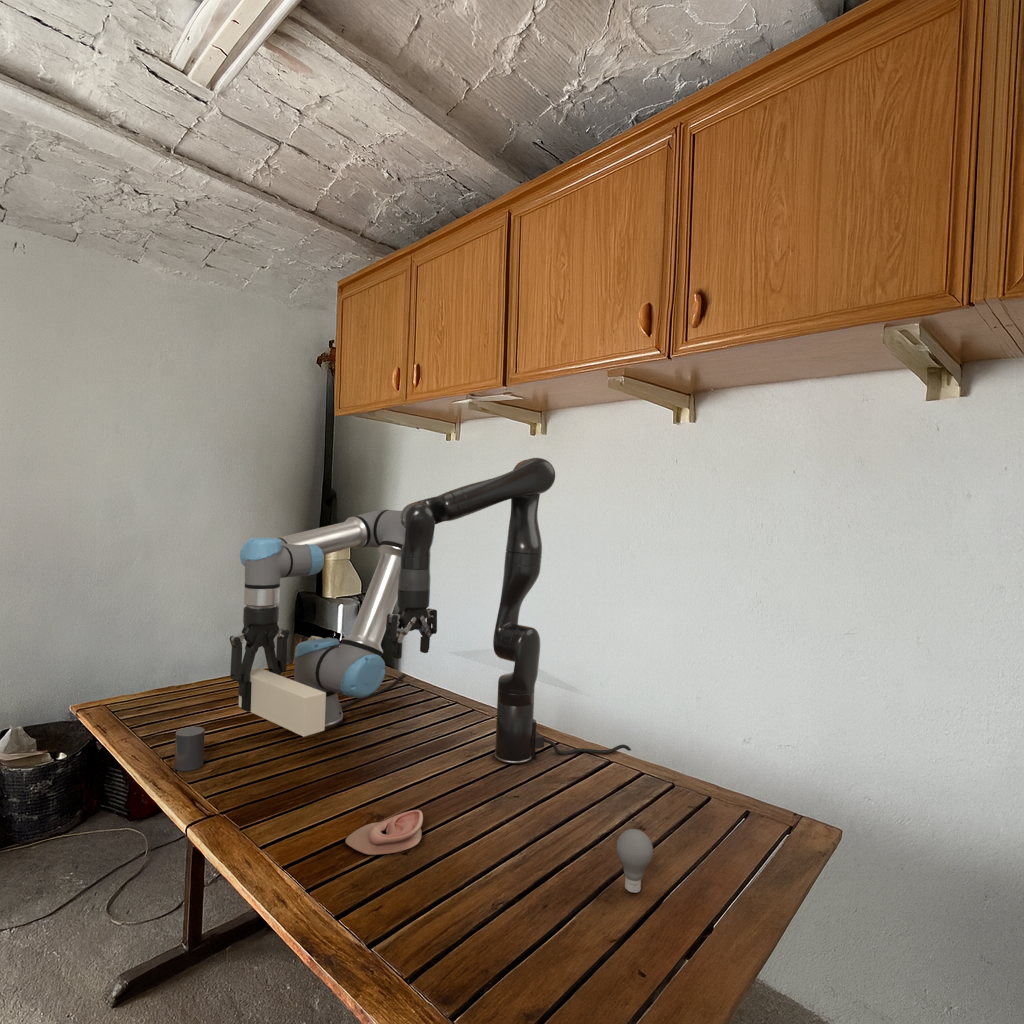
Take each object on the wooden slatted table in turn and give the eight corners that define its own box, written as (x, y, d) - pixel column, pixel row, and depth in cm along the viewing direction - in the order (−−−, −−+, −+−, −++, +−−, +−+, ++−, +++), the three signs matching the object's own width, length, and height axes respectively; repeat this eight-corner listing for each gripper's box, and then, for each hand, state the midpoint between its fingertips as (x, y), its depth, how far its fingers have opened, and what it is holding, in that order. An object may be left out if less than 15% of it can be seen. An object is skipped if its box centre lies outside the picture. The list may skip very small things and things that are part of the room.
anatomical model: (338, 827, 114) (365, 799, 125) (337, 849, 114) (364, 818, 125) (408, 839, 111) (429, 808, 122) (407, 861, 111) (428, 828, 122)
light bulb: (610, 879, 108) (613, 822, 108) (644, 879, 109) (647, 822, 109) (619, 902, 102) (622, 840, 102) (655, 901, 103) (658, 840, 103)
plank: (238, 706, 145) (239, 671, 145) (258, 701, 149) (260, 667, 149) (303, 736, 129) (305, 697, 129) (324, 730, 133) (326, 692, 133)
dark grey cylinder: (196, 758, 150) (197, 724, 150) (208, 765, 146) (209, 731, 146) (169, 765, 145) (170, 731, 145) (181, 773, 142) (182, 738, 142)
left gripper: (288, 599, 153) (284, 694, 154) (214, 607, 139) (210, 712, 140) (305, 603, 149) (302, 702, 149) (231, 612, 135) (227, 720, 135)
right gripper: (425, 583, 158) (421, 648, 158) (380, 587, 147) (376, 657, 147) (446, 586, 153) (443, 653, 153) (401, 591, 142) (398, 663, 142)
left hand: (257, 706), depth 145 cm, fingers closed on plank, 5 cm apart
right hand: (410, 655), depth 150 cm, fingers open, 8 cm apart
